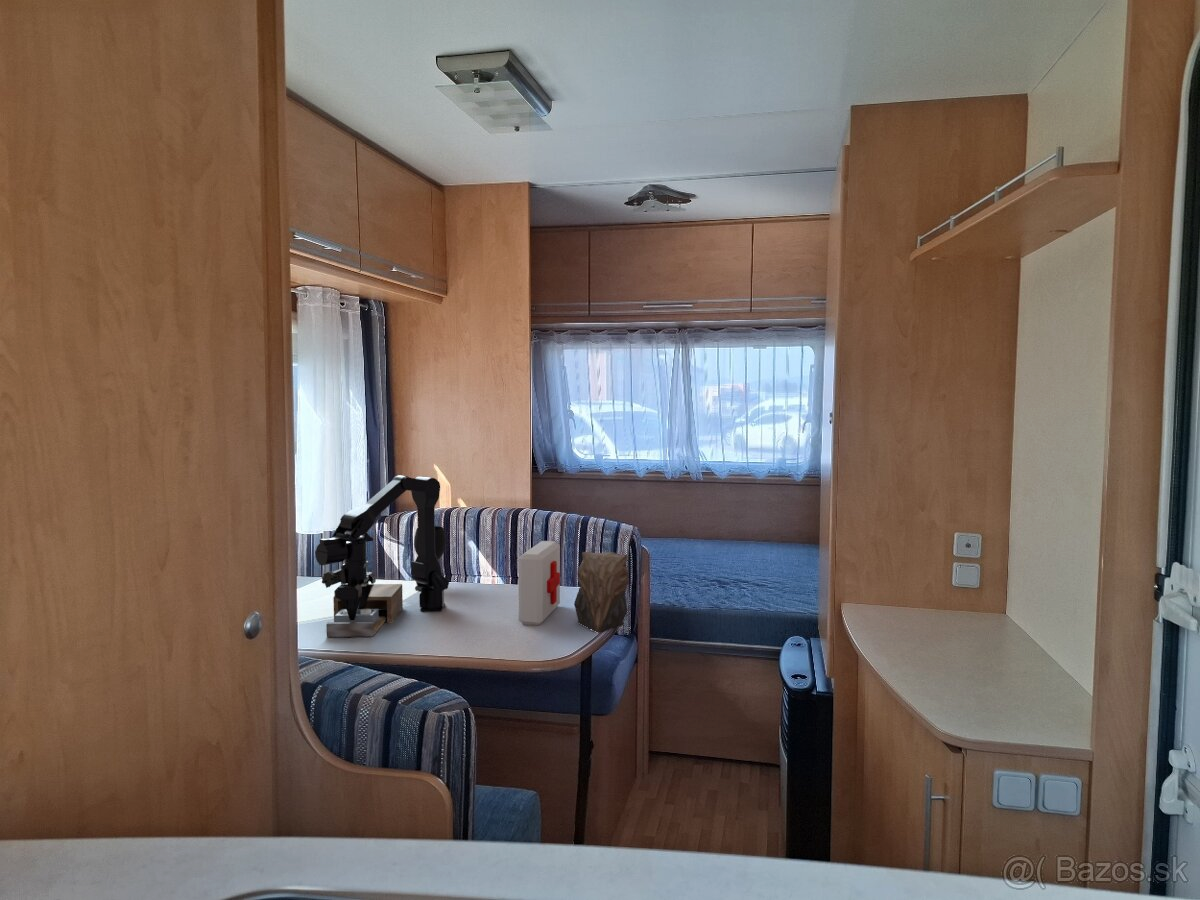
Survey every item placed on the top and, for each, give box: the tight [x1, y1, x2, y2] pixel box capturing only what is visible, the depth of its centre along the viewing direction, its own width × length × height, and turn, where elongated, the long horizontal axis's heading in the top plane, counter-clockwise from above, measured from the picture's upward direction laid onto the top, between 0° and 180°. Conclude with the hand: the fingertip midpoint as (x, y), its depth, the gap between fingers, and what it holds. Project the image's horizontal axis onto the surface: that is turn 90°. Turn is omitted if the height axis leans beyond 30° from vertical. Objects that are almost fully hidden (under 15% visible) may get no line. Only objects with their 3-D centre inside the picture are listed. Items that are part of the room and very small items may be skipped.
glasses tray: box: [335, 609, 380, 626], centre depth 206 cm, size 10×6×4 cm, turn 92°
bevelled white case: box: [517, 540, 561, 626], centre depth 219 cm, size 21×8×20 cm, turn 168°
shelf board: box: [325, 616, 387, 638], centre depth 206 cm, size 12×14×4 cm
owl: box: [573, 551, 629, 634], centre depth 211 cm, size 13×13×20 cm
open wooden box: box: [332, 583, 404, 624], centre depth 218 cm, size 16×14×8 cm
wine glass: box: [413, 525, 447, 592], centre depth 249 cm, size 10×10×20 cm
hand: (356, 615), depth 205 cm, fingers open, 8 cm apart
